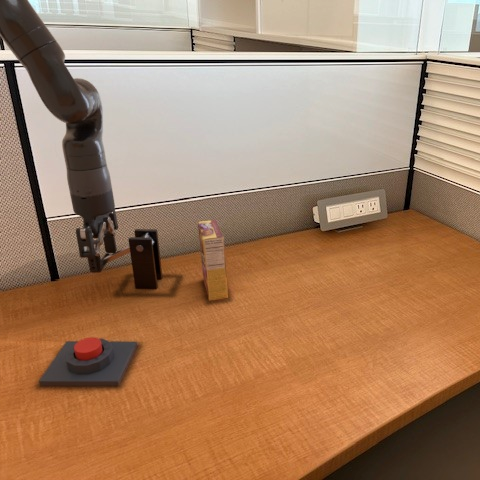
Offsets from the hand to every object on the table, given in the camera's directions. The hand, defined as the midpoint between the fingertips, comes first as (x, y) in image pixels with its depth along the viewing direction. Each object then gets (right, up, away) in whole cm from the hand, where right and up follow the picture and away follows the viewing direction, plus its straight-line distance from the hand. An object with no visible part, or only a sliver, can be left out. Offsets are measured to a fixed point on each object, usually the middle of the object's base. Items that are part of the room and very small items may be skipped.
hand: (104, 261), depth 100 cm
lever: (+5, +1, 0) cm, 5 cm away
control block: (+7, -17, -20) cm, 27 cm away
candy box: (+23, -7, +2) cm, 24 cm away
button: (+7, -14, -21) cm, 27 cm away
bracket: (+8, -6, +3) cm, 11 cm away
